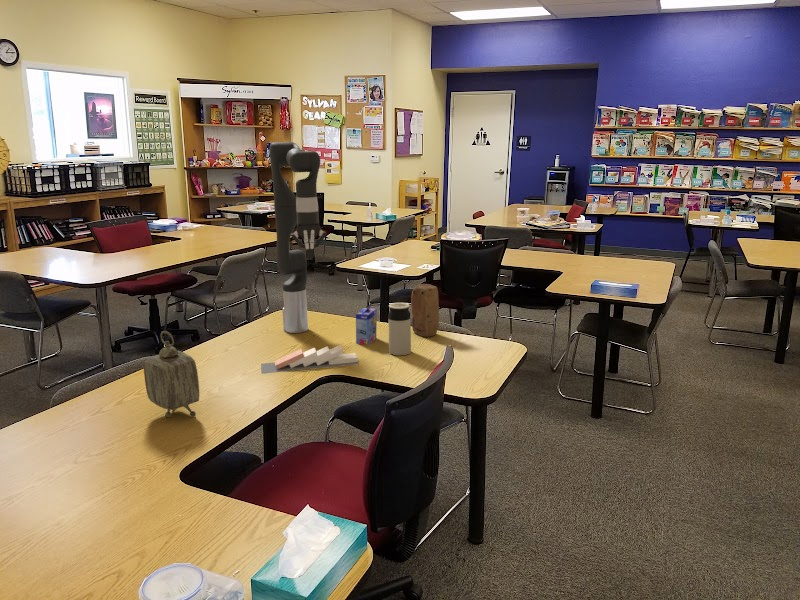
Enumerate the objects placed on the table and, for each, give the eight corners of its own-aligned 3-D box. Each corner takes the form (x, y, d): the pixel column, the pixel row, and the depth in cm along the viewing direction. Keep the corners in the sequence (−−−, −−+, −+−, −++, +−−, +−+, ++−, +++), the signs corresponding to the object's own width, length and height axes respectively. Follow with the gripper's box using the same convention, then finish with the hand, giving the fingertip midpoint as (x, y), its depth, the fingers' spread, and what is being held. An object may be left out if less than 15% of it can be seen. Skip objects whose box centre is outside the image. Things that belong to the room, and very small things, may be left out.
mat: (261, 375, 208) (261, 373, 208) (261, 365, 218) (260, 363, 218) (359, 365, 215) (359, 364, 215) (354, 356, 225) (354, 355, 225)
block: (440, 335, 247) (440, 286, 242) (426, 339, 243) (425, 289, 238) (423, 329, 256) (422, 281, 251) (408, 332, 251) (408, 284, 246)
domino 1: (275, 365, 211) (302, 353, 212) (274, 360, 216) (301, 348, 217) (277, 369, 212) (304, 357, 213) (276, 364, 216) (303, 352, 217)
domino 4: (315, 361, 214) (342, 349, 215) (314, 357, 219) (340, 344, 220) (317, 365, 215) (344, 353, 216) (316, 360, 219) (342, 348, 220)
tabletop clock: (202, 416, 177) (193, 332, 171) (172, 427, 171) (162, 340, 165) (176, 403, 187) (167, 323, 181) (147, 413, 180) (136, 330, 174)
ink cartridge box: (369, 345, 236) (368, 308, 233) (355, 344, 238) (354, 308, 234) (377, 338, 245) (376, 302, 242) (364, 337, 247) (363, 301, 243)
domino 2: (289, 364, 212) (316, 351, 213) (288, 359, 217) (314, 347, 218) (291, 368, 213) (317, 355, 214) (290, 363, 217) (316, 351, 218)
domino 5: (328, 360, 215) (357, 357, 217) (327, 355, 220) (355, 353, 222) (329, 364, 215) (357, 361, 218) (327, 359, 220) (355, 357, 222)
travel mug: (407, 357, 223) (406, 308, 219) (386, 355, 226) (384, 307, 221) (413, 350, 230) (413, 303, 226) (393, 348, 233) (392, 301, 228)
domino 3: (302, 363, 213) (329, 350, 214) (301, 358, 218) (327, 346, 219) (304, 367, 214) (331, 354, 215) (303, 362, 218) (329, 349, 219)
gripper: (325, 208, 221) (327, 256, 226) (287, 209, 219) (290, 258, 223) (327, 210, 214) (329, 260, 219) (288, 212, 211) (291, 262, 216)
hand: (310, 259), depth 221 cm, fingers closed
